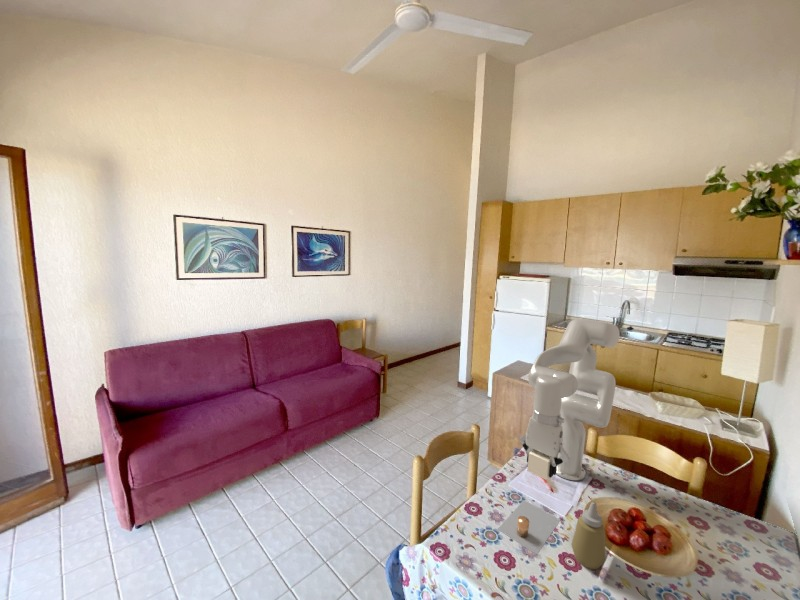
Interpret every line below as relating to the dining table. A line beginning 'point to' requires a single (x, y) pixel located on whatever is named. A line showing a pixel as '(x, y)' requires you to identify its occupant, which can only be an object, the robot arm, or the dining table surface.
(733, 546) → the dining table surface
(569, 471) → the robot arm
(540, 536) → the plate
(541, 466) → the cream foam brick
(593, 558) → the squeeze bottle
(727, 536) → the dining table surface
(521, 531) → the post
